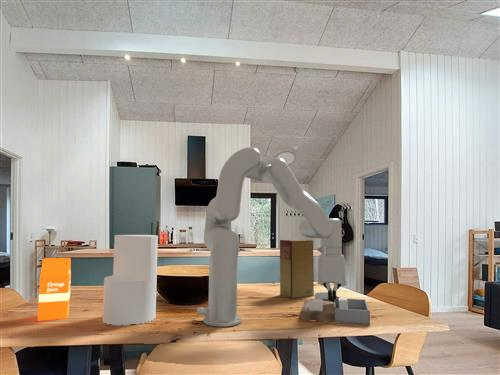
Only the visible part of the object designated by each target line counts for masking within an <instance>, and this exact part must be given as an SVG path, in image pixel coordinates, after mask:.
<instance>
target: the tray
mask: <svg viewBox="0 0 500 375" xmlns="http://www.w3.org/2000/svg"><path fill="white" fill-rule="evenodd" d="M339 298H340V297H339ZM339 298H336V308H335V322H340V323H339V324H348V323H349V324H350V325H362V324H364V326H371V318H370V317H371V312H370V308H369V305H368V302H367V300H366V299H363V298H362V299H359V298H347V301H348V309H339Z"/></svg>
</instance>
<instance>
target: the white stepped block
mask: <svg viewBox="0 0 500 375" xmlns="http://www.w3.org/2000/svg"><path fill="white" fill-rule="evenodd" d="M113 240H114V244H113V263H112V264H113V266H112V267H113V269H112V275H109V276H105V277H104V278H103V298H102V323H104V324H105V323H106V324H107V325H109V324H112V325H111V326H121V325H123V326H131V325H130V324H136V325H141V324H140V323H142V324H146V323H149V322H152V321H154V320H155V319H156V317H157V316H156V314H157V312H156V311H157V285H158V284H157V279H158V277H157V276H158V247H159V246H158V244H159V235H156V234H155V235H154V234H116V235H115V234H114V239H113ZM154 318H155V319H154ZM153 319H154V320H153ZM151 320H152V321H151ZM148 321H149V322H148ZM145 322H146V323H145Z"/></svg>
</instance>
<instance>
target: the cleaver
mask: <svg viewBox="0 0 500 375" xmlns="http://www.w3.org/2000/svg"><path fill="white" fill-rule="evenodd" d="M336 298H340V297H339V296H337V295H336ZM314 299H320V300H323V301H327V302H330V299H328V291H327V292H314ZM334 302H336V299H334Z"/></svg>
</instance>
